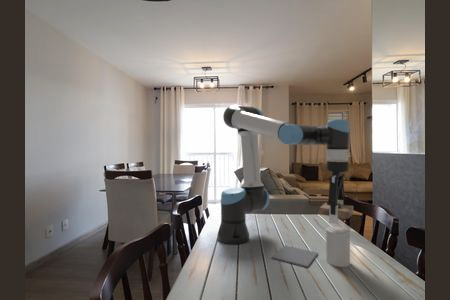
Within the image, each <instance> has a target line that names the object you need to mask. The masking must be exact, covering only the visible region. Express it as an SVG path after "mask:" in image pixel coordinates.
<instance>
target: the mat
mask: <svg viewBox="0 0 450 300" xmlns="http://www.w3.org/2000/svg"><path fill="white" fill-rule="evenodd" d="M318 254H319V252H317V251H313V250H307V249H303V248H300V247H299V248H298V247H296V246H295V247H293V246H289V245H283V246H282V247H281V248H280V249H278V251H277V252H275V253H273V255H272V256H271V259H273V260H276V261H279V262H280V261H281V262H285V263H289V264H293V265H296V266H300V267H304V268H307V269H308V268H309V267H310V265H312V262H314V260H315V259H316V258H317V256H318Z"/></svg>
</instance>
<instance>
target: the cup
mask: <svg viewBox="0 0 450 300" xmlns="http://www.w3.org/2000/svg"><path fill="white" fill-rule="evenodd" d="M350 235H351V232H350V230H349V229H347V228H345V227H339V226H328V227H326V228H325V261H326V262H327V263H328V264H329V265H331V266H333V267H340V268H346V267H349V266H350V264H351V258H350V257H351V256H350V255H351V251H350V250H351V240H350V238H351V237H350Z"/></svg>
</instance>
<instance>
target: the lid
mask: <svg viewBox="0 0 450 300" xmlns="http://www.w3.org/2000/svg"><path fill="white" fill-rule="evenodd" d="M327 203H328V202H325V203H323V204H322V205H321V206H319V207H318V208H319V209H318V215H322V216H328V217H329V205H327ZM337 206H338V218H341V219H346V220H347V219H348V220H349V219H350V218H351V217H352V215H353V214H354V206H353V205H349V204H348V205H347V204H343V205H341V204H340V203H337Z"/></svg>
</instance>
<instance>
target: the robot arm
mask: <svg viewBox="0 0 450 300" xmlns="http://www.w3.org/2000/svg"><path fill="white" fill-rule="evenodd" d="M222 116H223V122H224V124H225V125H226V126H227V127H228V128H231V129H236V130H237V134H238V136H240V143H241V156H242V157H241V158H242V174H243V183H242V184H241V185H240V187H231V188H227V189H224V190H223V191H222V192H221V194H220V212H221V213H220V217H221V218H220V220H221V221H220V225H219V228H218V232H217V240H218V242H220V243H223V244H226V245H240V244H244V243H247V242H249V241H250V232H249V229H248V226H247V221H246V220H247V219H246V215H248V214H253V213H258V212H261V211H263V210H265V209H266V208H267V207H268V206H269V203H270V194H269V192H268V190H267V189H266V188H265V185H264V183H263V182H262V181H261V170H260V169H261V168H260V166H261V165H260V153H259V149H260V148H259V137H258V136H259V135H262V136H265V137H269V138H272V139H275V140H278V141H280V142H281V143H282V144H284V145H288V146H299V145H300V146H302V145H303V146H326V160H327V161H326V171H327V172H332V173H331V176H329V189H328V197H327V198H328V199H327V200H328V202H326V203H327V205H329V216H328V217H329V220H328V223H329V224H334V225H337V224H338V218H339V217H338V206H337V203H340V204H341V205H344V201H346V199H347V198H346V197H345V180H344V179H345V174H344V173H348V172H349V162H348V161H349V156H350V155H351V152H349V147H350V146H349V145H350V143H349V142H350V124H349V123H350V122H349V121H348V120H347V119H341V118H340V119H328V121H327V122H326V123H327V124H326V125H317V126H313V125H303V124H296V123H292V122H289V121H288V122H287V121H284V120H279V119H275V118H271V117H267V116H264V113H263V112H262V110H261V109H259V108H258V107H254V106H247V105H240V104H232V105H230V106H228V107H226V109H224V112H223V115H222Z"/></svg>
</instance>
